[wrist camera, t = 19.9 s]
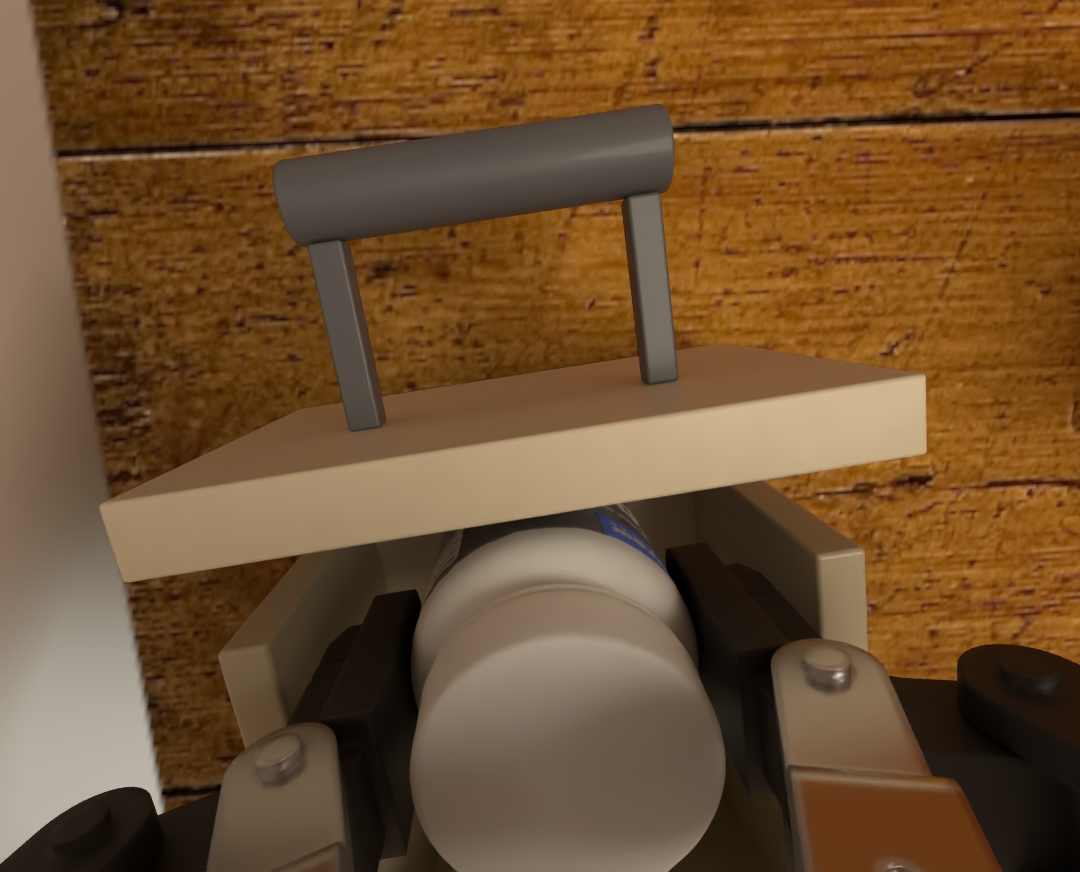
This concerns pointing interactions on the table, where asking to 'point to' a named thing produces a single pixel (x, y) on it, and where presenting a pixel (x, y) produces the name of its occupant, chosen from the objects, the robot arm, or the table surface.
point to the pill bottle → (560, 701)
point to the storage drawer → (517, 437)
